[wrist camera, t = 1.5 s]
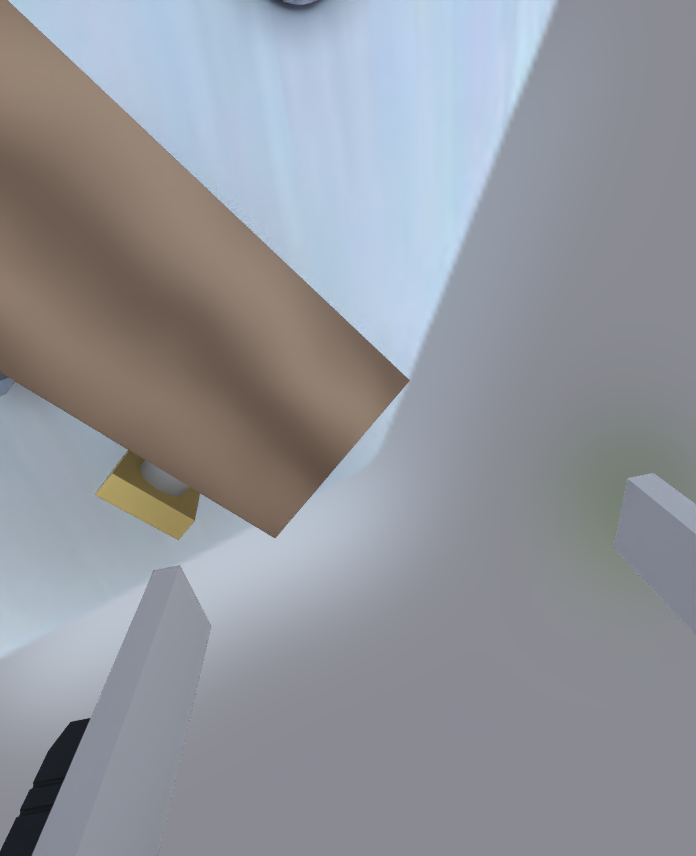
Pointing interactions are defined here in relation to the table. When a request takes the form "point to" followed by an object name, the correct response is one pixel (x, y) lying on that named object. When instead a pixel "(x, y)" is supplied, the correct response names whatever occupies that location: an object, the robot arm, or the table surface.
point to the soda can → (299, 1)
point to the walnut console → (163, 302)
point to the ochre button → (150, 495)
